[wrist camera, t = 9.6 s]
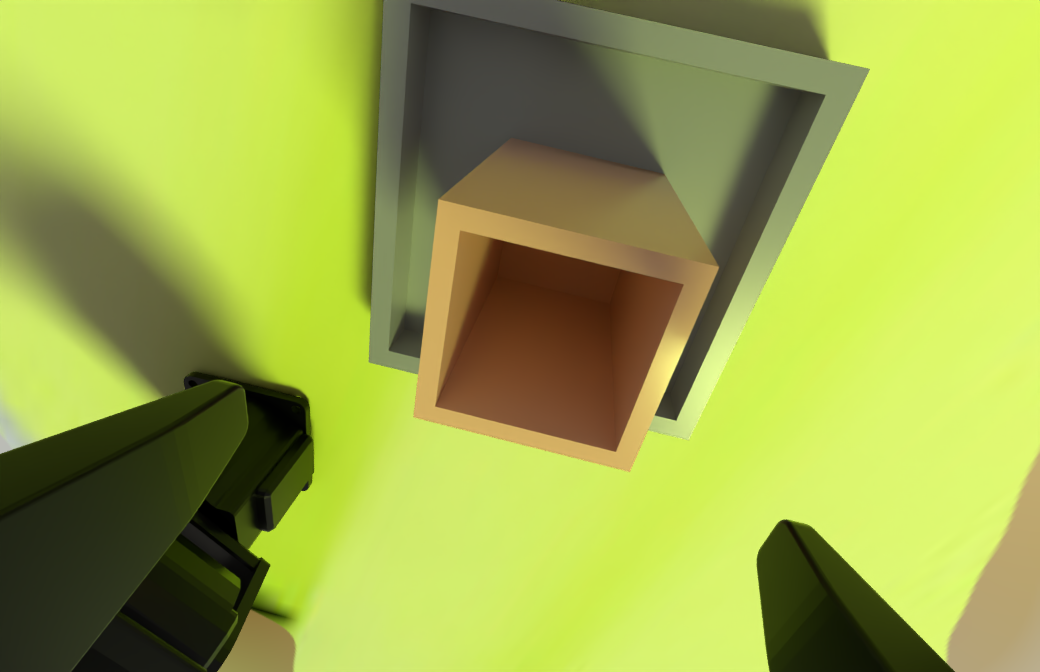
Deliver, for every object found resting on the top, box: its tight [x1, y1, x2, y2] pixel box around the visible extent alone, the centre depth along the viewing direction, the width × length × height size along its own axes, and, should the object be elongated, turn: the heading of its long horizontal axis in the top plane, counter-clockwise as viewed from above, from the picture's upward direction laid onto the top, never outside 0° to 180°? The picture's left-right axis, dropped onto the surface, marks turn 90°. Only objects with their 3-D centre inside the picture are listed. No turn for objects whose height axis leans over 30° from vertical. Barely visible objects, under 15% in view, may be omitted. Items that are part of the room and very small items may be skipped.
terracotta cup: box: [414, 138, 719, 472], centre depth 15 cm, size 6×6×9 cm
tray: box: [369, 0, 870, 440], centre depth 18 cm, size 14×14×2 cm
